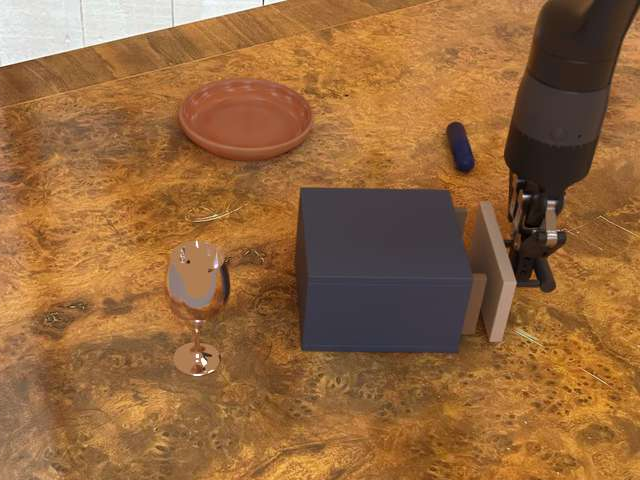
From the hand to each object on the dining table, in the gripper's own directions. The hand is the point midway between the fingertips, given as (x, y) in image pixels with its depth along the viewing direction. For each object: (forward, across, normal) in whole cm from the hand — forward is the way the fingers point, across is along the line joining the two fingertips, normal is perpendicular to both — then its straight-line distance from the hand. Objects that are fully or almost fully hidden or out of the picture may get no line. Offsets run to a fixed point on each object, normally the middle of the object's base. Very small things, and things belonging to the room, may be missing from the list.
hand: (517, 274), depth 102 cm
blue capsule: (+4, +27, +1) cm, 27 cm away
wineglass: (+4, -8, +31) cm, 32 cm away
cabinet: (+4, 0, +14) cm, 14 cm away
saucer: (+4, +31, +26) cm, 40 cm away
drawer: (+3, 0, +7) cm, 7 cm away
